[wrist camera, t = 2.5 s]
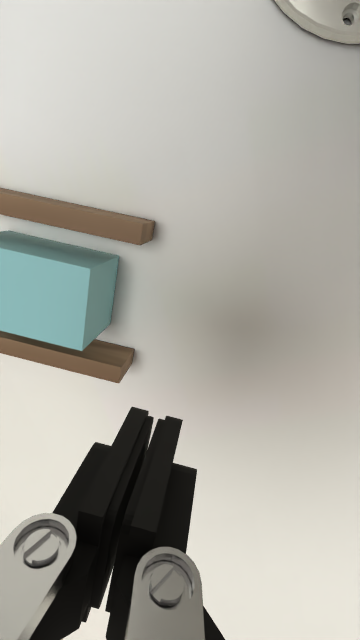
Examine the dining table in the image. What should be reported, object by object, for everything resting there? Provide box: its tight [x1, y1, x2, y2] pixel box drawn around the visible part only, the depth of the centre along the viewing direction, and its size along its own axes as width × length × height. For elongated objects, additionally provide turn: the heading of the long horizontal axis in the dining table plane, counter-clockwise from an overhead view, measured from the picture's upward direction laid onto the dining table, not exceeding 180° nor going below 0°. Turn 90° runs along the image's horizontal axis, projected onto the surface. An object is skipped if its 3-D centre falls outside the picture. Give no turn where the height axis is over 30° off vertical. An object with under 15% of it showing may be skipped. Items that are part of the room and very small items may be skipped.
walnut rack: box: [0, 188, 155, 383], centre depth 23 cm, size 10×12×3 cm
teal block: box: [0, 231, 119, 351], centre depth 22 cm, size 5×8×5 cm, turn 77°
